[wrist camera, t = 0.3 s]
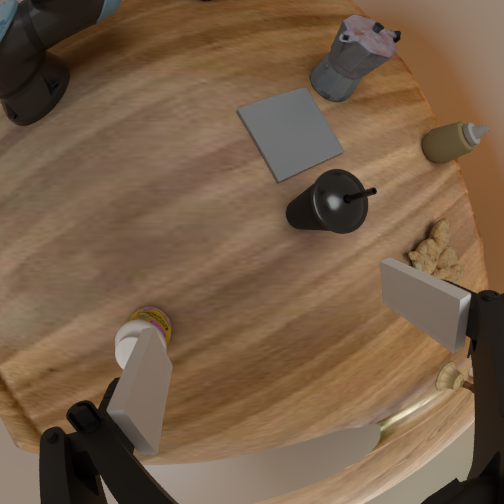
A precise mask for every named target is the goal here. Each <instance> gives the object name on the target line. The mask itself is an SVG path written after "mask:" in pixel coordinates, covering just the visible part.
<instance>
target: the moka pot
mask: <svg viewBox="0 0 504 504" xmlns="http://www.w3.org/2000/svg"><path fill="white" fill-rule="evenodd" d="M400 34H401V32H400V31H392V30H385V29H384V27H383V26H382V25H381V24H380V23H377V22H375V21H373V20H371V19H368V18H365V17H361V16H358V15H352V16H350V17H349V18H347V19H345V20H344V21H343V22H342V25H341V27H340V29H339V31H338V33H337V35H336V37H335V40H334V42H333V44H332V46H331V51H330V53H329V54H328V55H327V56H326V57H325V58H324V59H323V60H322V61H320V62H319V63H318V64H317V65H316V66H315V68H314V69H313V71H312V73H311V75H310V80H311V83H312V85H313V87H314V89H315V90H316V91H317V92H318V93H319V94H320V95H322V96H323V97H325V98H326V99H329V100H332V101H343V100H345V99H347V98H349V97H350V95H351V94H352V92H353V91H354V89H355V87H356V86H357V84H358V83H359V81H360V80H361V78H362V77H363V76H364V75H366V74H368V73H369V72H371V71H372V70H374V69H375V68H377V67H378V66H380V65H381V64H383V63H384V62H386V61H388V60H389V59H390V58H391V57H392V56H393V55H394V53H395V52H396V51H397V47H396V45H395V43H396V42H398V41H399V40H400Z"/></svg>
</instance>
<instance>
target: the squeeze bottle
mask: <svg viewBox="0 0 504 504" xmlns="http://www.w3.org/2000/svg"><path fill="white" fill-rule="evenodd" d="M487 132H489V129H488V127H487V126H477V127H475V126H474V124H472V123H467V124H464V123H462V122H457V123H454V124H450V125H446V126H443V127H439V128H435V129H432V130H431V131H430V132H429V133H428V134H427V136H426V137H425V138H424V139H423V140H422V148H423V151H424V154H425V155H426V157H427V158H428V159H429V160H430V161H433V162H440V163H447V162H449V161H451V160H454V159H456V158H458V157H460V156H462V155H464V154H466V153H469V152H471V151H472V150H473V148H474V145H477V144H479V143H480V137H481V136H483V135H484V134H486V133H487Z"/></svg>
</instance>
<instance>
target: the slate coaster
mask: <svg viewBox="0 0 504 504" xmlns="http://www.w3.org/2000/svg"><path fill="white" fill-rule="evenodd" d="M236 112H237V114H238V115H239V117H240V119H241V120H242V122H243V124H244V126H245V127H246V129H247V131H248V132H249V134H250V136H251V138H252V139H253V141H254V143H255V144H256V146H257V148H258V150H259V151H260V153H261V155H262V157H263V159H264V160H265V162H266V164H267V166H268V168H269V169H270V171H271V173H272V175H273V177H274V178H275V180H276V182H277V183H279V182H281V181H283V180H285V179H287V178H289V177H291V176H294V175H296V174H298V173H300V172H302V171H304V170H306V169H308V168H311V167H313V166H315V165H317V164H319V163H321V162H324V161H326V160H328V159H330V158H333V157H335V156H337V155H339V154H341V153H343V152H344V150H343V148H342V146H341V144H340V143H339V141H338V139H337V137H336V136H335V134H334V132H333V130H332V129H331V127H330V125H329V124H328V122H327V120H326V119H325V117H324V115H323V114H322V112H321V111H320V109H319V107H318V106H317V104H316V103H315V101H314V100H313V98H312V96H311V95H310V93H309V92H308V90H307V89H306V87H304V88H300V89H297V90H293V91H290V92H286V93H283V94H280V95H277V96H273V97H270V98H267V99H264V100H261V101H258V102H255V103H253V104H250V105H247V106H244V107H241V108H239V109H237V111H236Z"/></svg>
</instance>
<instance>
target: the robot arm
mask: <svg viewBox="0 0 504 504" xmlns="http://www.w3.org/2000/svg"><path fill="white" fill-rule="evenodd" d="M120 3H121V0H23V1H22V2H20V3H18V1H17V0H8V1H7V2H4V3H2V4H1V5H0V101H1V104H2V106H3V109H4V111H5V113H6V115H7V117H8V118H9V119H10V120H11V121H12V122H14V123H15V124H17V125H28V124H31V123H33V122H36V121H37V120H39V119H41V118H42V117H43V116H45V115H46V114H47V113H48V112H49V111H50V110H51V109H52V108H53V107H54V106H55V105H56V104H57V103H58V101H59V100H60V98H61V97H62V95H63V94H64V92H65V90H66V88H67V85H68V82H69V69H68V67H67V65H66V64H65V62H64V61H63V60H62V59H61V58H59V57H58V56H56V55H54V54H52V53H50V52H48V51H46V50H47V49H49V48H51V47H52V46H54V45H56V44H57V43H59V42H61V41H63V40H64V39H66V38H68V37H70V36H72V35H73V34H75V33H77V32H79V31H81V30H83V29H85V28H87V27H89V26H91V25H95V24H96V23H98V22H99V21H101V20H103V19H105V18H107V17H109V16H111V15H113V14H114V13H115V12H116V11H117V10H118V8H119V6H120ZM379 262H380V272H381V284H382V298H383V303H384V304H385V305H387V306H388V307H389V308H391V309H392V310H394V311H395V312H397V313H398V314H399V315H401V316H402V317H404V318H405V319H406V320H408V321H409V322H411V323H412V324H413V325H415V326H416V327H418V328H419V329H420V330H422V331H423V332H425V333H426V334H427V335H429V336H430V337H432V338H433V339H434V340H436V341H437V342H438V343H440V344H441V345H442V346H444V347H445V348H447V349H448V350H449V351H451V352H452V353H453V354H454V353H455V352H457V351H458V350H460V349H461V348H462V347H464V344H465V338H466V335H467V336H468V337H470V338H471V340H470V346H469V351H468V356H467V358H469V356H470V354H471V359H472V368H473V380H474V397H475V435H474V452H473V462H472V466H471V469H470V472H469V474H468V477H467V480H465V481H463V482H459V481H458V479H457V478H455V479H454V480H453V481H452V482H450V483H449V484H447V485H446V486H444V487H443V488H441V489H440V490H438V491H437V492H435V493H434V494H432V495H431V496H429V497H428V498H427V499H426V500H425V501H423V502H422V503H421V504H504V293H503V294H501V295H500V294H499V293H497V292H495V291H492V290H484V291H481V292H479V293H478V294H477V293H475V292H473V291H470V290H468V289H466V288H464V287H462V286H461V287H460V286H459V285H457V284H455V283H453V282H450V281H448V280H443V279H438V278H436V277H434V276H432V275H429V274H427V273H425V272H422V271H420V270H418V269H416V268H413V267H411V266H408V265H406V264H404V263H401V262H399V261H397V260H394V259H392V258H387V259H384V260H381V261H379ZM172 368H173V366H172V363H171V361H170V359H169V357H168V355H167V353H166V351H165V348H164V346H163V344H162V342H161V339H160V337H159V335H158V332H157V330H156V328H155V326H154V327H150V328H145V329H142V331H141V333H140V336H139V338H138V340H137V342H136V344H135V346H134V348H133V350H132V353H131V355H130V357H129V359H128V361H127V364H126V366H125V368H124V370H123V372H122V375H121V377H119V378H115V379H114V380H113V381H112V382H111V383H110V384H109V386H108V388H107V390H106V393H105V395H104V397H103V399H102V401H101V403H100V406H99V408H98V410H97V408H96V407H95V405H94V404H93V403H92V402H91V401H87V400H85V401H80V402H78V403H76V404H74V405H73V406H71V408H70V409H69V410H68V412H67V414H66V417H67V420H68V421H69V422H70V423H71V425H72V426H73V427H74V428H75V430H76V431H77V432H74V433H70V434H66V433H65V432H64V431H63V430H62V429H61V428H60V427H52V428H49V429H47V430H46V431H45V432H44V433H43V435H42V436H41V439H40V459H39V461H40V462H39V472H40V473H39V474H40V475H39V476H40V498H41V504H108V503H107V500H106V497H105V493H104V490H103V486H102V482H101V478H100V475H101V477H102V479H103V480H104V482H105V484H106V485H107V487H108V488H109V490H110V492H111V493H112V495H113V496H114V498H115V499H116V501H117V502H118V504H178V503H177V502H176V501H175V500H174V499H173V498H172V497H171V496H170V495H169V494H168V493H167V492H166V491H165V490H164V489H163V488H162V487H161V486H160V485H159V484H158V483H157V481H156V480H155V479H154V478H153V477H152V476H151V475H150V474H149V473H148V472H147V470H146V469H145V468H144V467H143V466H142V464H141V463H140V462H139V461H138V460H137V458H136V457H135V456H134V455H133V451H134V447H135V448H136V450H137V451H138V452H139V453H140V454H141V455H155V454H158V448H159V442H160V435H161V429H162V423H163V417H164V411H165V405H166V400H167V394H168V389H169V384H170V378H171V373H172Z"/></svg>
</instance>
